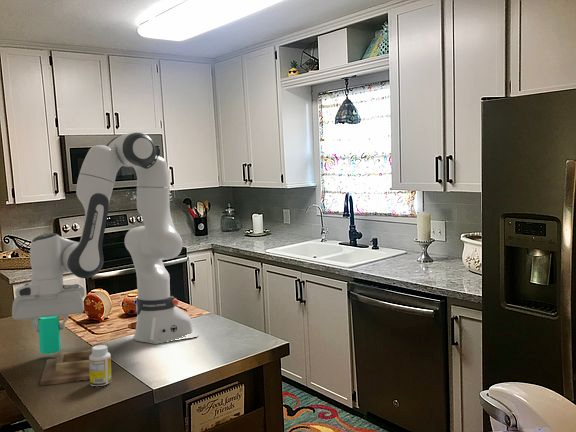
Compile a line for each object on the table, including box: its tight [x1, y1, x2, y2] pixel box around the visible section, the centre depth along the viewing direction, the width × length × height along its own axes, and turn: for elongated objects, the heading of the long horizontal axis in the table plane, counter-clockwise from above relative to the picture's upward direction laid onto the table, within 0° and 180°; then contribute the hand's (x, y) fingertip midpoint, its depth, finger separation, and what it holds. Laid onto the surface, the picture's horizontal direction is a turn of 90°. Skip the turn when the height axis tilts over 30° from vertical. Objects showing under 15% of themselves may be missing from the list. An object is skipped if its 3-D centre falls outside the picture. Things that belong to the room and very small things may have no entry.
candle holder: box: [39, 349, 92, 387], centre depth 151 cm, size 18×18×4 cm
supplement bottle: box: [89, 344, 112, 387], centre depth 141 cm, size 6×6×10 cm
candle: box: [37, 316, 62, 355], centre depth 161 cm, size 6×6×12 cm
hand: (50, 330), depth 161 cm, fingers closed on candle, 5 cm apart
